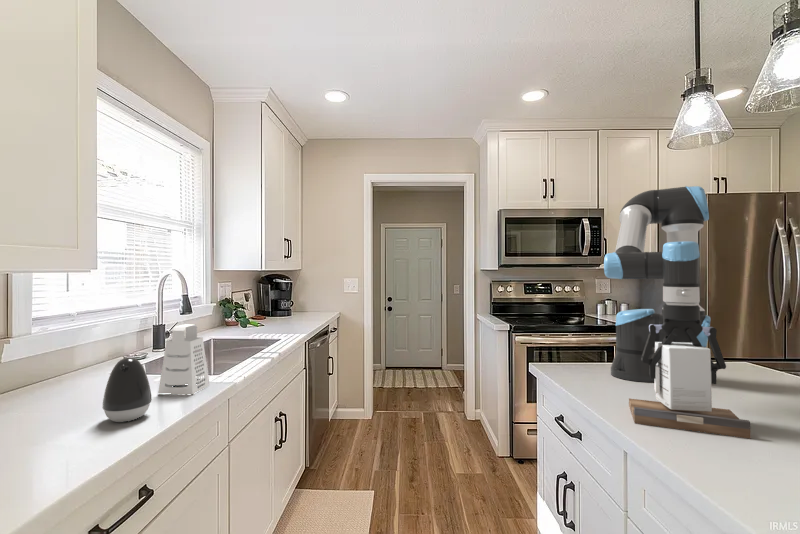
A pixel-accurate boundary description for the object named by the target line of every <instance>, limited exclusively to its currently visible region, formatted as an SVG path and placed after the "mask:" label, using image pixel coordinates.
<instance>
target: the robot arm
mask: <svg viewBox="0 0 800 534" xmlns="http://www.w3.org/2000/svg"><path fill="white" fill-rule="evenodd" d="M709 219H710V213H709V206H708V200H707V195H706V192H705V189H704V188H703V187H702V186H700V185H699V186H698V185H694V186H687V185H685V186H679V187H671V188H662V189H650V190H646V191H644V192H641V193H638V194H637V195H634V196H633V197H632V198H631V199H629V200H627V202H626V203H625V204H624V205H623V206H622V208H621V210H620V212H619V216H618V221H619V223H620V227H619V231H618V236H617V241H616V246H615V249H614V251H612V252H608V253H606V254H605V255H604V259H603V271H604V272H603V273H604V275H605V277H606V278H607V279H614V280H615V279H617V280H662V282H663V283H662V301H663V302H664V304H663V305H662V308H661V313H656V310H655V309H653V308H638V309H627V310H626V309H625V310H621V311H618V312H617V314H616V316H615V317H616V318H615V355H614V357H613V361H612V363H611V366H610V376H613V377H615V378H617V379H621V380H625V381H626V380H627V381H632V382H643V383H644V382H645V383H651V382H652V383H653V382H654V383H653V385H654V392H655V394H656V393H660V376H659V366H658V365H656V364H657V362H658V361H659V360H660V358H661V357H662V346H661V347H659V348H658V349H657V350H656V352H655V342H662V344H663V345H670V344H671V343H672V342H681V343H692V344H693V345H694V346H697V347H702V346H703V347H706V348H707V346H708V345H707V344H708V343H709V346H710V350H712V351H711V352H712V354H713V357H714V360H715V363H714V361H713V360H712V359H711V385H716V384H717V372H718V371H719V370H726V368H727V365H726V361H725V359H724V356H723V353H722V351H721V348H720V345H719V342H718V339H717V328H715V327H713V326H711V321H712V320H711V316H709V315H707V314H706V310H705V309H704V308H703V307H702V306H701V305H700V302H701V301H700V300H701V299H700V296H701V295H700V294H701V293H700V256H701V254H700V253H701V252H700V247H699V231H700V230H701V229H703V228H704V227H705V226H704V225H705V224H704V222H708V221H709ZM650 224H651V225H652V224H660V225H661V227H660V228H661V230H662V231H664V233H666V242H665V243H664V244H663V246H662V251H650V252H649V251H645V245H646V239H647V238H646V237H647V229H648V226H649V225H650ZM712 392H713V391H711V397H713V396H712V395H713V394H712Z"/></svg>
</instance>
